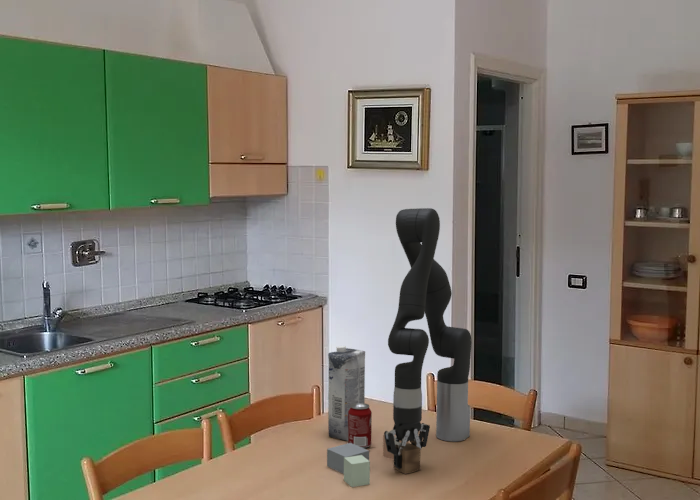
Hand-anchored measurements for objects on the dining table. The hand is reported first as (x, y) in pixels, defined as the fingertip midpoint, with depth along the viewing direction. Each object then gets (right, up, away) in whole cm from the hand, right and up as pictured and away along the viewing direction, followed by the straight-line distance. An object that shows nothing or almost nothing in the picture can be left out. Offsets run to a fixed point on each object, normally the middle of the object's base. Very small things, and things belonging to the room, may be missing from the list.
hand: (406, 465), depth 209 cm
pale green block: (-13, -2, -9) cm, 16 cm away
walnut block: (0, -1, 0) cm, 1 cm away
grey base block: (-16, -1, +2) cm, 16 cm away
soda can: (-12, 0, +18) cm, 22 cm away
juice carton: (-16, +1, +28) cm, 32 cm away
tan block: (-2, 0, +11) cm, 11 cm away
